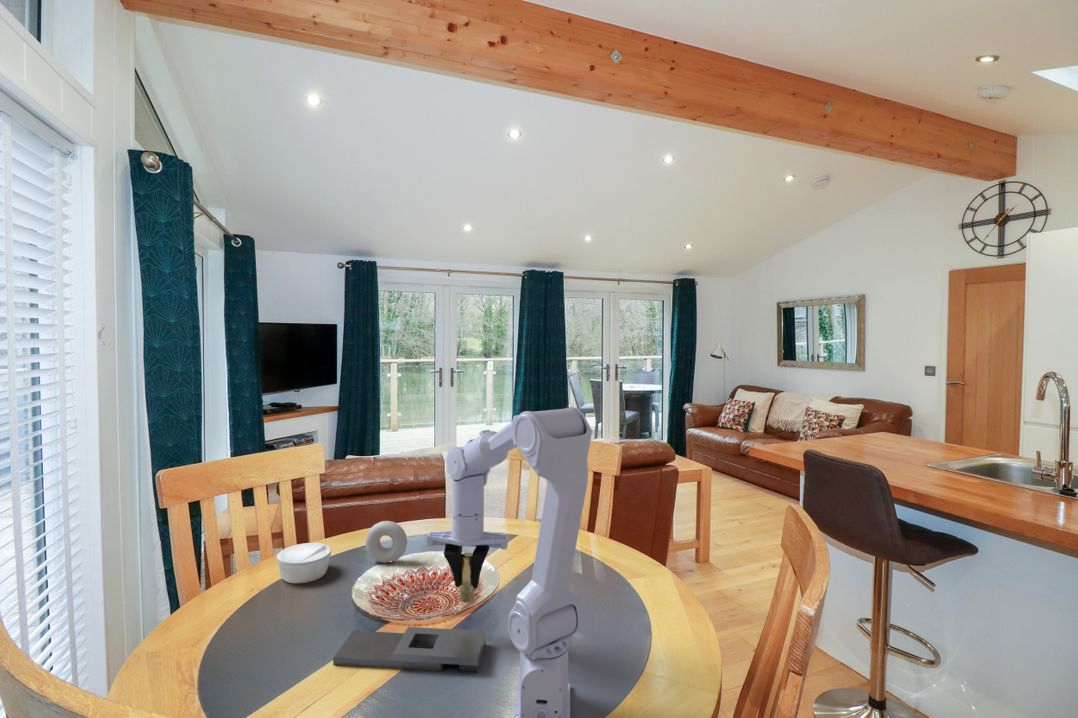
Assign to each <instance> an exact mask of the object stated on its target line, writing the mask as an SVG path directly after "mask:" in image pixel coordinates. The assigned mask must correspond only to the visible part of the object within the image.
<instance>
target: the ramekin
mask: <svg viewBox="0 0 1078 718" xmlns="http://www.w3.org/2000/svg"><path fill="white" fill-rule="evenodd" d="M331 555H332V548H331V547H330V545H328V544H326V543H325V544H324V543H321V542H306V543H303V542H302V543H299V544H294V545H290V546H287V547H286V548H283V549H281V550H280V551H279V552H278V553H277V555H276V562H277V563H278V570H279V575H280V578H281V579H282V580H283V581H284V582H286V583H288V584H306V583H310V582H315V581H317V580H318V579H320V578H322V577H324V575H325V574H326V573H327V572H328V571H327V570H328V567H329V562H330V558H331Z"/></svg>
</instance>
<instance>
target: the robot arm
mask: <svg viewBox="0 0 1078 718" xmlns="http://www.w3.org/2000/svg"><path fill="white" fill-rule="evenodd" d="M478 435H479V436H478V437H476V438H475V439H474V438H473V439H469V440H467V442H466V443H467V444H465V445H464V446H451V447H450V448H449V450H448V452H447V454H446V459H445V465H446V471H447V474H448V475H449V477H450V478H451V483H452V484H451V487H452V488H451V489H452V490H451V492H452V496H451V530H445V531H429V533H428V534H427V536H426V547H433V546H444V550H443V556H444V558H445V560H446V561H447V564H448V566H449V567H450V571H451V572H452V576H453V579H454V587H455V588H460V555H461V554H463V547H474V550H473V552H472V553H473V566H474V575H473V588H474V589H478V587H479V584H480V582H479V581H480V576H481V571H482V568H483V565H484V562H485V560H486V557H487V555H488V553H489V550H490V548H497V549H499V548H500V550H507V548H508V545H509V535H508V534H501V533H494V532H489V531H488V532H487V531H485V530H484V524H485V523H484V522H485V519H484V518H485V517H484V516H485V511H484V510H485V507H484V506H485V505H484V504H485V487H486V485H487V484H488V475H489V474H490V472H491V469H492V468H494V467H496V466H498V465H499V464H502V463H503V462H505V460H506V459H507V457H508V455H509V451H511V450H514V449H516V448H518V450H519V451H520V452H519V453H521V454H522V456H523V458H524V459H525V461H526V462H527V463H528V464H529V466H530V467H531V469H532V470H533V472H534V473H535V474H536V476H538V477H541V478H542V479H545V481H546V483H547V484H546V490H545V495H544V502H543V508H542V514H541V520H540V525H539V526H540V527H539V531H538V538H537V543H536V545H537V546H536V551H535V556H534V563H533V569H532V575H531V580H530V581H529V582H528V583H527V584H526V585H525V587H523V588H522V590H521V591H520V592H519V593H518V594H517V595H516V597H515V602H514V603H515V604H514V605H513V608H512V609H510V612H509V614H508V622H507V628H508V633H509V637H510V640H511V641H512V644H513V645H514V647H515V648H516V649H517V650H518V651H519V681H518V684H517V685H518V686H517V693H516V698H515V699H516V700H515V705H514V706H515V707H514V712H513V718H516V716H519V717H518V718H571V683H569V646H570V644H572V643H573V637H574V636H573V635H575V634H576V633H577V632H578V631H579V629H580V627H581V621H582V620H581V609H580V601H581V595H580V593H579V592H578V590H577V588H576V587H575V586H574V585H573V584H572V583H570V580H571V577H572V576H571V575H572V570H573V564H574V560H575V559H574V558H575V552H576V547H577V541H578V536H579V531H580V525H581V520H582V514H583V508H584V502H585V499H586V494H587V487H588V481H589V473H588V472H589V470H588V458H589V457H588V456H589V451H590V446H591V440H592V435H593V430H592V428H591V426H590V424H589V422H588V419H586V416H585V415H584V413H583V411H581V409H579V408H577V407H574V406H570V407H566V408H560V409H559V408H558V409H547V410H538V411H530V410H526V411H522V412H521V413H520V414H518V415H517V414H516V415H514V416H513V417H512V421H511V422H509V423H508V424H507V425H506V426H504V427H503V428H501V429H500V430H499V431H494V430H491V429H484V430H480V431H479V433H478Z"/></svg>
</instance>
